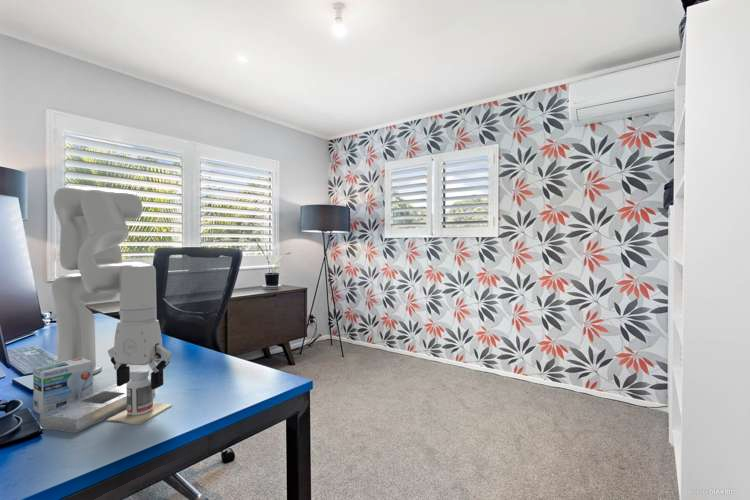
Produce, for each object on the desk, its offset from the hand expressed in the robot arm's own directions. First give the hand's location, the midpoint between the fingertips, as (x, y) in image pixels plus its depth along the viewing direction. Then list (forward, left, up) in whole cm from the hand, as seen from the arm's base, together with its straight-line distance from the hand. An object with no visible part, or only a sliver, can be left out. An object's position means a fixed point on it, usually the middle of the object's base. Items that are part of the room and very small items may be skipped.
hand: (140, 385), depth 93 cm
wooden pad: (0, 0, -7) cm, 7 cm away
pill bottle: (0, 0, -6) cm, 7 cm away
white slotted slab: (-11, 0, -7) cm, 13 cm away
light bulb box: (-23, 0, -7) cm, 24 cm away
